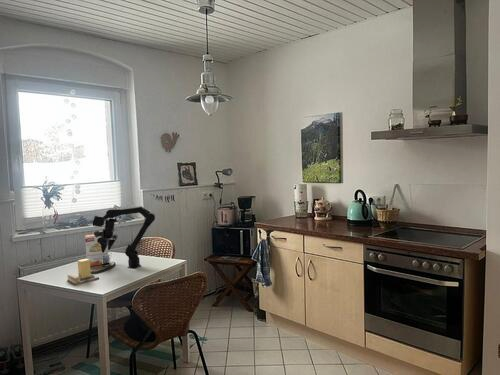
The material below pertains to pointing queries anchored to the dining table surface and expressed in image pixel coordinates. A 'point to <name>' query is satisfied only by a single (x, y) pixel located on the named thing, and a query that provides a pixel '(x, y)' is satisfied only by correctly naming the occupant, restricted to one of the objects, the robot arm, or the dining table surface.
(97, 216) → the robot arm
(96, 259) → the cracker box
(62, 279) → the dining table surface
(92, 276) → the flat tray
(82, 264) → the pillar
